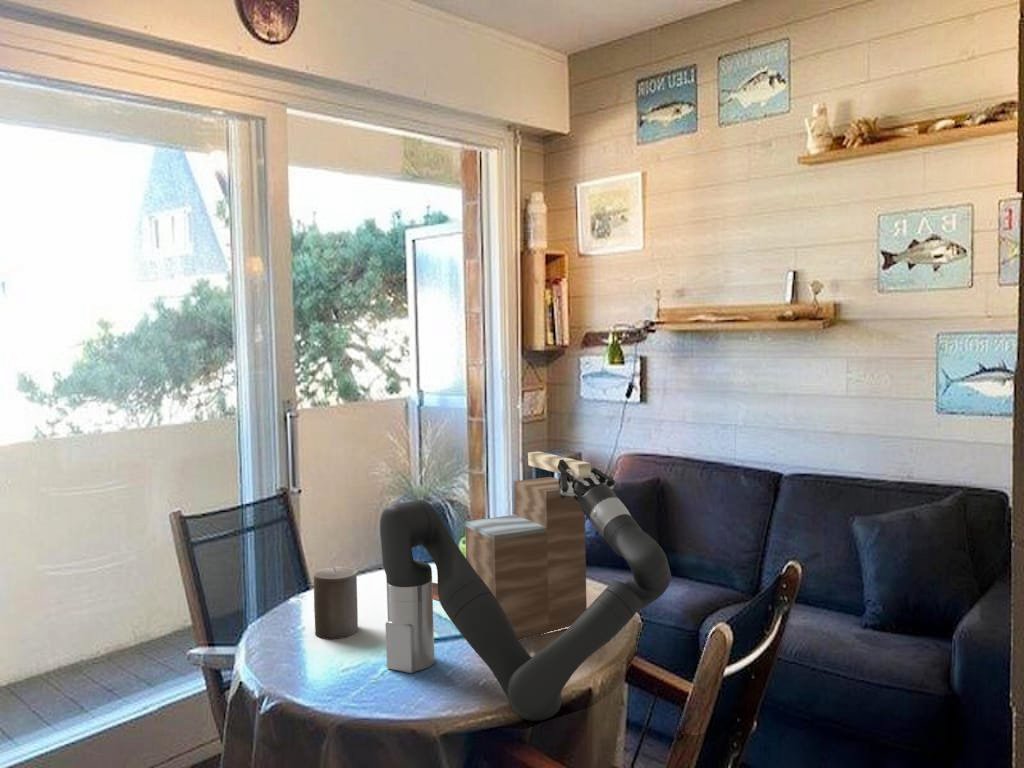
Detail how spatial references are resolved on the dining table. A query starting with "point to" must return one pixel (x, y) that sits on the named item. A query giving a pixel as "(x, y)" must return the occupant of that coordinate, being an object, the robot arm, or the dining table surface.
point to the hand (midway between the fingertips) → (567, 462)
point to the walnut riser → (533, 558)
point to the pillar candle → (335, 602)
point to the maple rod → (552, 461)
